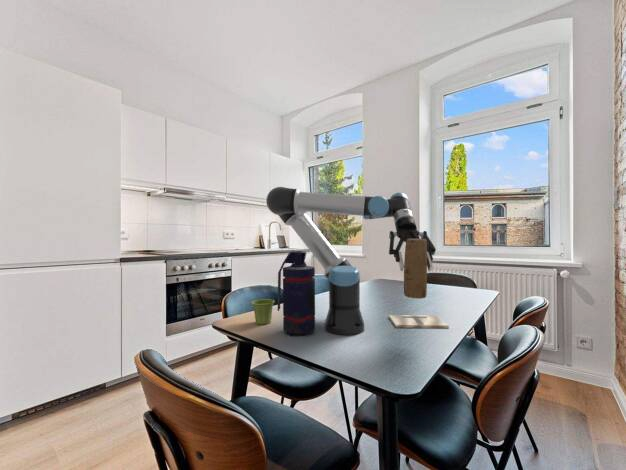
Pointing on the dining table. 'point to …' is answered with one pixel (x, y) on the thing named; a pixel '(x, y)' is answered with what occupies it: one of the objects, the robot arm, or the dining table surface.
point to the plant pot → (263, 310)
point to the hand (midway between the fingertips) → (416, 268)
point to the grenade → (297, 295)
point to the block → (415, 268)
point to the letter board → (417, 321)
